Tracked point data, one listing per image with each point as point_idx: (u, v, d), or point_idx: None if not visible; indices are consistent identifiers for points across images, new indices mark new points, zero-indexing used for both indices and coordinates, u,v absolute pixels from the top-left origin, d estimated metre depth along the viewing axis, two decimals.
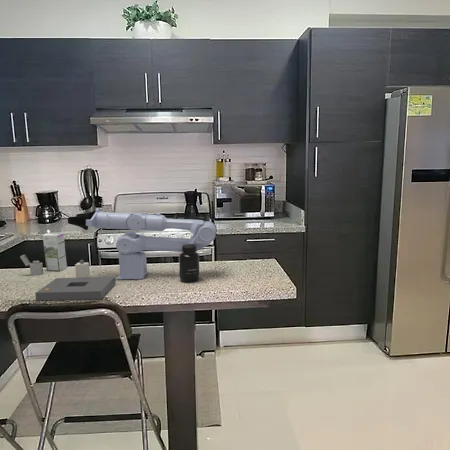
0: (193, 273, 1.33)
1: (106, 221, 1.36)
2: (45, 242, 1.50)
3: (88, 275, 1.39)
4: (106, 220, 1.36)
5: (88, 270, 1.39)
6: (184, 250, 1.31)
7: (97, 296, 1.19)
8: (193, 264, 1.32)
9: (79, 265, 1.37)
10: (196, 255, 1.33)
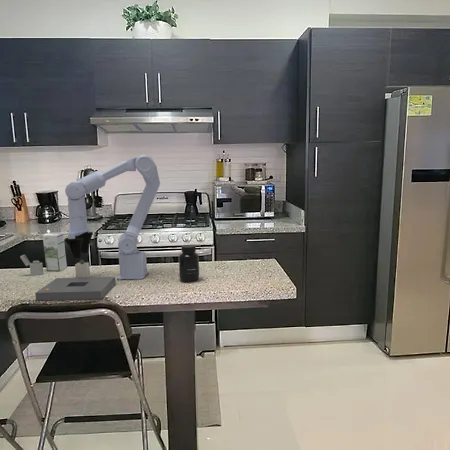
0: (193, 273, 1.33)
1: (75, 220, 1.33)
2: (45, 242, 1.50)
3: (88, 275, 1.39)
4: (73, 220, 1.33)
5: (88, 270, 1.39)
6: (184, 250, 1.33)
7: (97, 296, 1.19)
8: (193, 263, 1.32)
9: (79, 265, 1.37)
10: (195, 255, 1.34)
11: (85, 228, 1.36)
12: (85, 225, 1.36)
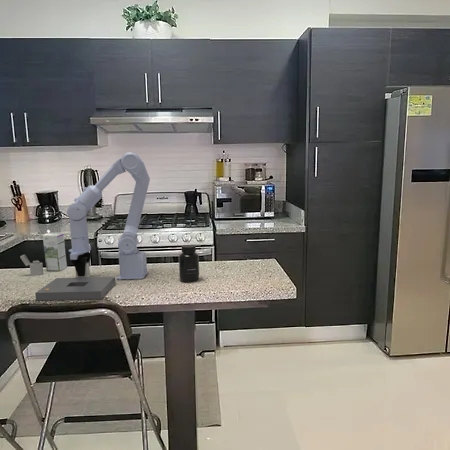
0: (193, 273, 1.33)
1: (76, 240, 1.34)
2: (45, 242, 1.50)
3: (88, 275, 1.39)
4: (75, 240, 1.34)
5: (88, 270, 1.39)
6: (184, 250, 1.33)
7: (97, 296, 1.19)
8: (193, 263, 1.32)
9: None
10: (195, 255, 1.34)
11: (87, 248, 1.37)
12: (87, 245, 1.37)
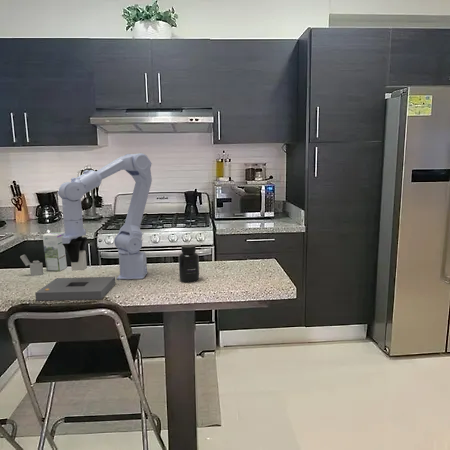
0: (193, 273, 1.33)
1: (69, 223, 1.23)
2: (45, 242, 1.50)
3: (84, 264, 1.28)
4: (68, 223, 1.23)
5: (84, 259, 1.28)
6: (184, 250, 1.33)
7: (97, 296, 1.19)
8: (193, 263, 1.32)
9: None
10: (195, 255, 1.34)
11: (81, 232, 1.26)
12: (81, 228, 1.26)
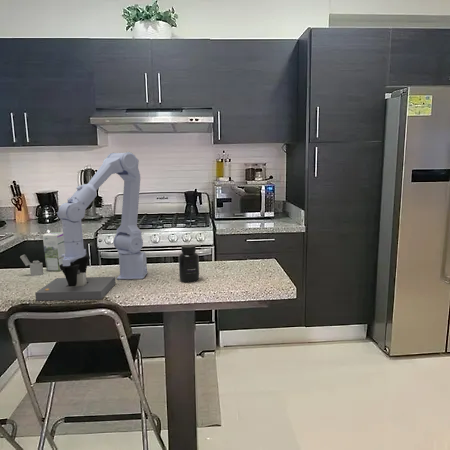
0: (193, 273, 1.33)
1: (70, 244, 1.21)
2: (45, 242, 1.50)
3: None
4: (68, 244, 1.21)
5: (84, 281, 1.26)
6: (184, 250, 1.33)
7: (97, 296, 1.19)
8: (193, 263, 1.32)
9: None
10: (195, 255, 1.34)
11: (81, 253, 1.24)
12: (81, 250, 1.24)
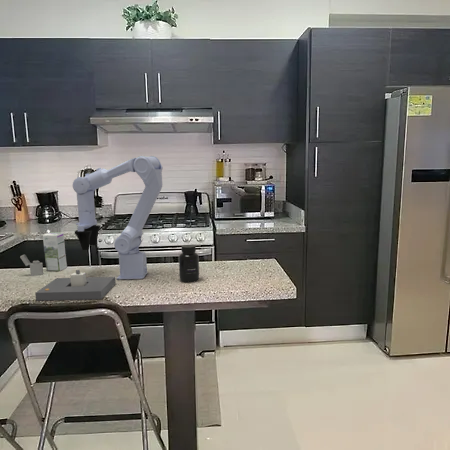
0: (193, 273, 1.33)
1: (83, 213, 1.39)
2: (45, 242, 1.50)
3: None
4: (82, 213, 1.39)
5: (84, 281, 1.26)
6: (184, 250, 1.33)
7: (97, 296, 1.19)
8: (193, 263, 1.32)
9: (75, 276, 1.25)
10: (195, 255, 1.34)
11: (93, 221, 1.41)
12: (93, 218, 1.41)
